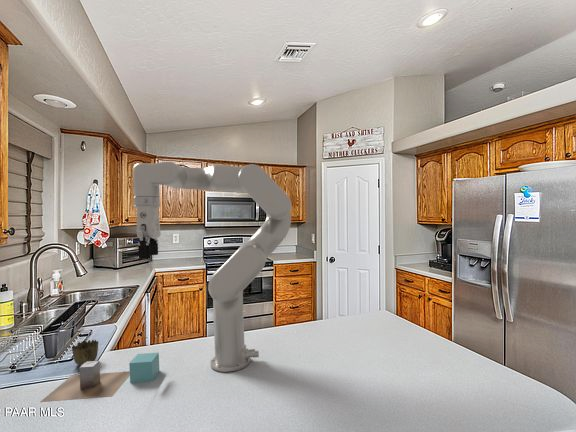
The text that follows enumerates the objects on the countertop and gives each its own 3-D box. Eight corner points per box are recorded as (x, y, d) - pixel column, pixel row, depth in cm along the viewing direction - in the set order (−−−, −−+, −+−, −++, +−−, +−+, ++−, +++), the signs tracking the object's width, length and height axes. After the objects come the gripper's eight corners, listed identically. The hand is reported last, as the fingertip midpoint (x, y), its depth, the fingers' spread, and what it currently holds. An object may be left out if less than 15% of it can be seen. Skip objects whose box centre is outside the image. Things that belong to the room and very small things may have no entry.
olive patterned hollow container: (86, 374, 102) (85, 348, 102) (66, 373, 104) (65, 347, 104) (104, 363, 110) (103, 339, 110) (85, 362, 111) (84, 338, 111)
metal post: (100, 381, 94) (99, 360, 94) (93, 388, 91) (92, 366, 91) (87, 382, 94) (86, 361, 94) (80, 389, 91) (79, 367, 90)
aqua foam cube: (159, 375, 100) (158, 352, 100) (152, 385, 94) (151, 361, 94) (138, 376, 99) (137, 353, 99) (130, 387, 93) (129, 363, 93)
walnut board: (133, 375, 100) (133, 371, 100) (112, 401, 86) (111, 396, 86) (71, 380, 99) (71, 375, 99) (40, 407, 85) (40, 401, 85)
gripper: (152, 201, 96) (154, 259, 96) (165, 203, 113) (167, 253, 113) (125, 202, 95) (127, 261, 95) (142, 204, 112) (144, 254, 112)
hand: (148, 256), depth 104 cm, fingers open, 9 cm apart
